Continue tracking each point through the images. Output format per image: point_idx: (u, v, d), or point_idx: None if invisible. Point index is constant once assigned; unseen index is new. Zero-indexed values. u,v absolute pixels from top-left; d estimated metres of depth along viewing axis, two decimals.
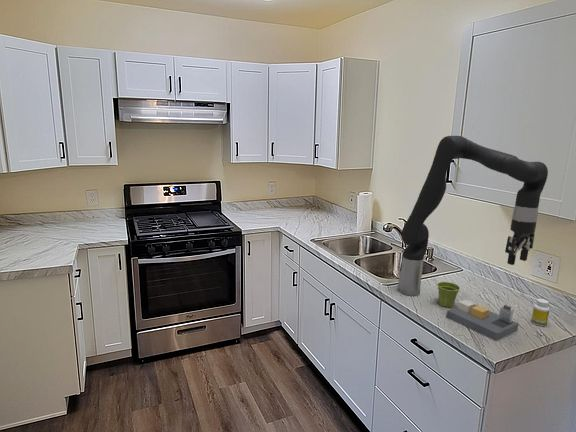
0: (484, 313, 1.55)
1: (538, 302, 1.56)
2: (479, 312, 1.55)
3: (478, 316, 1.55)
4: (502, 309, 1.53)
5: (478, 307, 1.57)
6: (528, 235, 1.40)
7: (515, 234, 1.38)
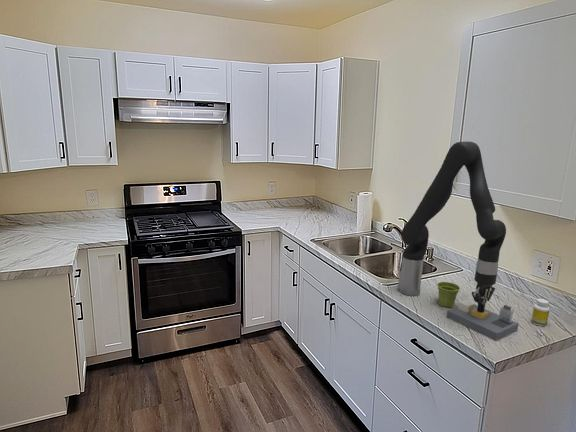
0: (484, 316, 1.55)
1: (538, 302, 1.56)
2: (479, 315, 1.55)
3: None
4: (502, 309, 1.53)
5: None
6: (491, 284, 1.55)
7: (478, 285, 1.52)
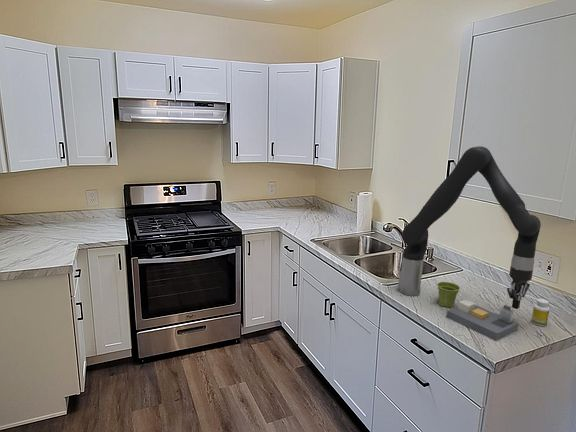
0: (484, 316, 1.55)
1: (538, 302, 1.56)
2: (479, 315, 1.55)
3: None
4: (502, 309, 1.53)
5: (478, 310, 1.58)
6: (526, 280, 1.53)
7: (513, 281, 1.51)
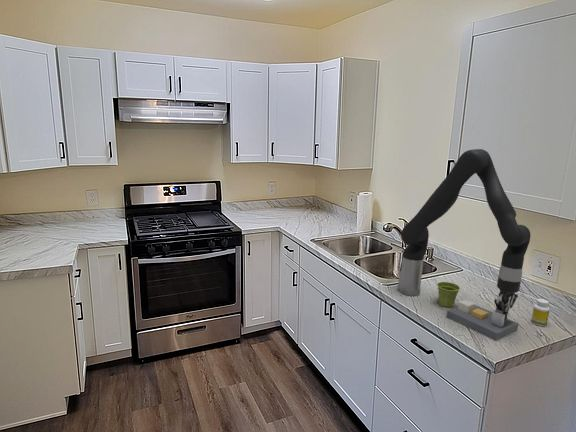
0: (484, 316, 1.55)
1: (538, 302, 1.56)
2: (479, 315, 1.55)
3: None
4: (494, 312, 1.50)
5: (478, 310, 1.58)
6: None
7: (501, 292, 1.47)
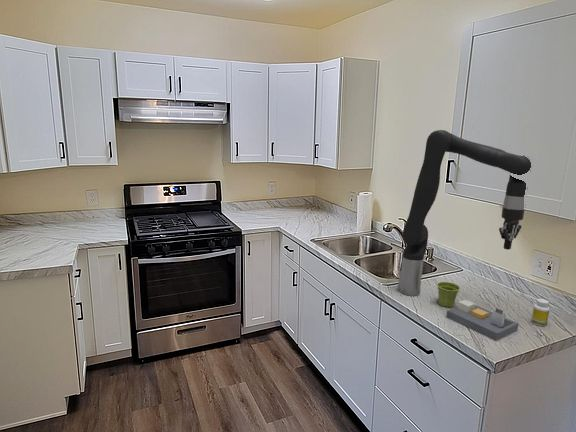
0: (484, 316, 1.55)
1: (538, 302, 1.56)
2: (479, 315, 1.55)
3: None
4: (494, 312, 1.49)
5: (478, 310, 1.58)
6: (518, 221, 1.56)
7: (505, 220, 1.54)
